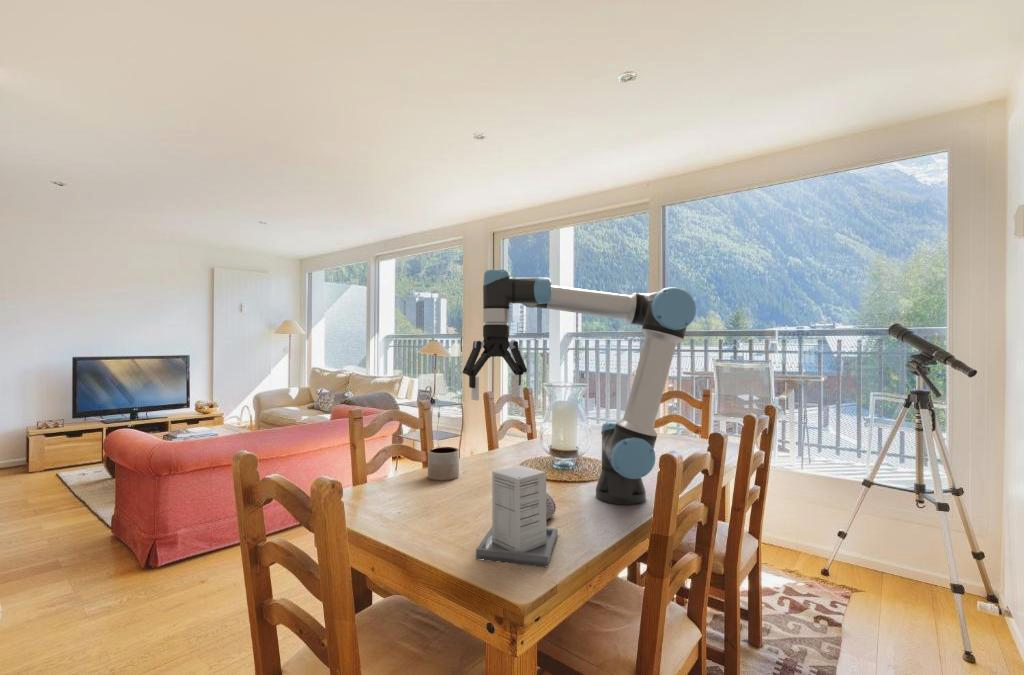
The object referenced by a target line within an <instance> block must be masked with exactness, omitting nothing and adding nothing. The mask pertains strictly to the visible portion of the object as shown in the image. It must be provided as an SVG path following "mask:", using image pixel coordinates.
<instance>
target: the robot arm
mask: <svg viewBox="0 0 1024 675" xmlns="http://www.w3.org/2000/svg"><path fill="white" fill-rule="evenodd" d="M482 287H483V288H482V290H483V291H482V292H483V293H482V295H483V296H482V302H483V304H482V306H483V314H482V315H483V317H482V320H483V323H484V325H483V326H482V332H483V333H482V337H483V341H481V340H474V341H473V344H472V349H471V351H470V354H469V357H468V358H467V361H466V362H465V366H464V367H463V370H462V374H464V375H466V376H468V379H469V380H468V387H469V388H470V389H471V400H472V401H479V399H480V397H479V396H480V389H479V388H480V377H479V376H477V375H478V373H479V372H480V371H481V370H482V369H483V367H484V366H485V363H487V362H488V360H489V359H490V358H496V357H501V358H502V359H503V360H504V361H505V362H506V364H507V365H508V367H509V369H511V371H512V372H513V374H511V397H512V398H520V386H521V384H522V375H524V373H526V372H527V371H528V370H527V367H526V364H525V361H524V359H523V356H522V353H521V351H520V349H519V342H518V340H511V341H509V338H510V325H508V324H509V323H510V305H511V304H522V305H523V306H525V307H526V308H532V309H533V308H538V309H547V310H555V311H559V312H561V311H563V312H569V313H577V314H582V315H589V316H596V317H597V316H599V317H603V318H613V319H620V320H625V321H627V323H628V324H631V325H638V326H642V328H641V332H642V333H643V336H644V341H643V344H642V349H641V352H640V355H639V359H638V363H637V367H636V370H635V375H634V378H633V381H632V385H631V389H630V393H629V396H628V399H627V403H626V409H625V410H624V414H623V418H622V419H620V420H618V421H617V422H604V423H603V424H602V426H601V431H600V432H601V472H600V475H599V478H598V481H597V484H596V487H595V497H596V499H598V500H600V501H602V502H606V503H609V504H614V505H638V504H640V503H644V502H645V501H646V500H647V499H646V498H647V495H646V494H647V493H646V492H647V491H646V488H645V485H644V482H643V479H642V478H644V477H646V476H647V475H649V473H650V472H652V471H653V468H654V467H655V464H656V451H655V445H656V442H657V438H658V433H657V431H656V429H655V423H656V421H657V416H658V413H659V408H660V407H661V406H660V405H661V402H662V397H663V393H664V390H665V387H666V384H667V383H666V382H667V379H668V377H669V376H668V375H669V372H670V368H671V365H672V360H673V358H674V354H675V350H676V346H677V345H678V344H680V343H681V342H683V341H684V338H685V335H686V331H687V327H688V326H689V325H691V323H693V321H694V319H695V316H696V315H697V314H696V312H697V307H696V302H695V300H694V298H693V296H692V295H691V294H690V293H689V292H688V291H686V290H685V289H683V288H680V287H675V286H674V287H673V286H672V287H671V286H670V287H664V288H661V289H660V290H657V291H655V292H651V293H649V292H647V293H638V292H633V293H631V294H620V293H616V292H615V293H614V292H606V291H599V290H598V291H597V290H590V289H585V288H584V289H583V288H576V287H569V286H560V285H554V284H553V285H552V279H551V278H549V277H541V276H537V277H535V276H534V277H531V276H529V277H527V276H526V277H522V276H520V277H515V276H511V274H510V271H509V270H507V269H499V268H493V269H487V270H486V271H485V272H484V274H483V285H482ZM482 348H483V351H482V352H481V350H482ZM508 349H510V351H509V350H508ZM510 352H511V353H510ZM480 353H481V354H480ZM479 355H480V357H479Z"/></svg>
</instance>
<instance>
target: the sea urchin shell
mask: <svg viewBox="0 0 1024 675" xmlns="http://www.w3.org/2000/svg"><path fill="white" fill-rule="evenodd" d="M556 505H557V504H556V502H555V501H554V499H553V497H552V496H551V495H550V494H549V493H548V492H546V521H547V520H549V519H550V518H552V517H553V515H554V514H555V512H557V511H556V509H557V507H556Z"/></svg>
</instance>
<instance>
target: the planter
mask: <svg viewBox="0 0 1024 675" xmlns="http://www.w3.org/2000/svg"><path fill="white" fill-rule="evenodd" d="M459 452H460V451H459V448H457V447H452V446H437V447H432V448H429V449H428V450H427V454H428V455H427V477H428V479H430V480H433V481H436V480H438V481H437V482H446V480H448V481H452V479H453V480H455V479H457V478H458V477H459V475H460V469H459V468H460V458H459V457H460V453H459Z"/></svg>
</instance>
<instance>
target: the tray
mask: <svg viewBox="0 0 1024 675" xmlns="http://www.w3.org/2000/svg"><path fill="white" fill-rule="evenodd" d="M558 533H559V532H558V528H553V527H552V528H551V527H550V528H549V527H546V544H545V545H543V546H540V547H537V548H535V549H532V550H529V551H527V552H516V551H509V550H507V549H505V548H503V547H501V546H499V545H497V544H494V543H493V542H492V526H491V528H490V529H489V531H488V532H487V533H486V535H485V536H484V538H483V539H482V540H481V541H480V543H479V545H478V546H477V548H476V550H475V553H476V554H475V559H476V558H477V559H484V560H483V561H486V560H491V561H490V562H496V561H500V562H499V563H505V562H508V563H507V564H514V563H515V564H517V565H525V566H533V565H536V567H542V566H548V565H550V563H549V562H551V559H552V556H553V553H554V550H555V546H556V544H557V541H558V539H559V538H558ZM477 559H476V560H477ZM548 567H549V566H548Z"/></svg>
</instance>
